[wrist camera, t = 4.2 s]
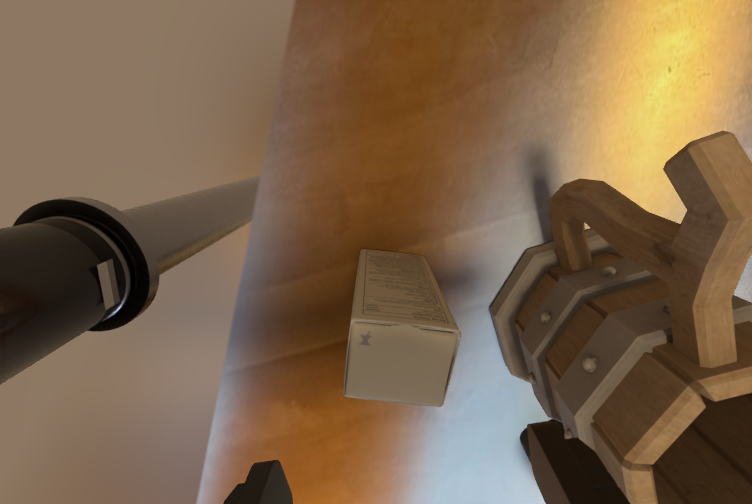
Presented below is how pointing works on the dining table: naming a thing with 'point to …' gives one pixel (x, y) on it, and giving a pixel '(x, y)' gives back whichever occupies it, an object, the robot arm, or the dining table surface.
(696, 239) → the tankard
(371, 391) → the box
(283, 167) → the dining table surface
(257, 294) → the dining table surface
